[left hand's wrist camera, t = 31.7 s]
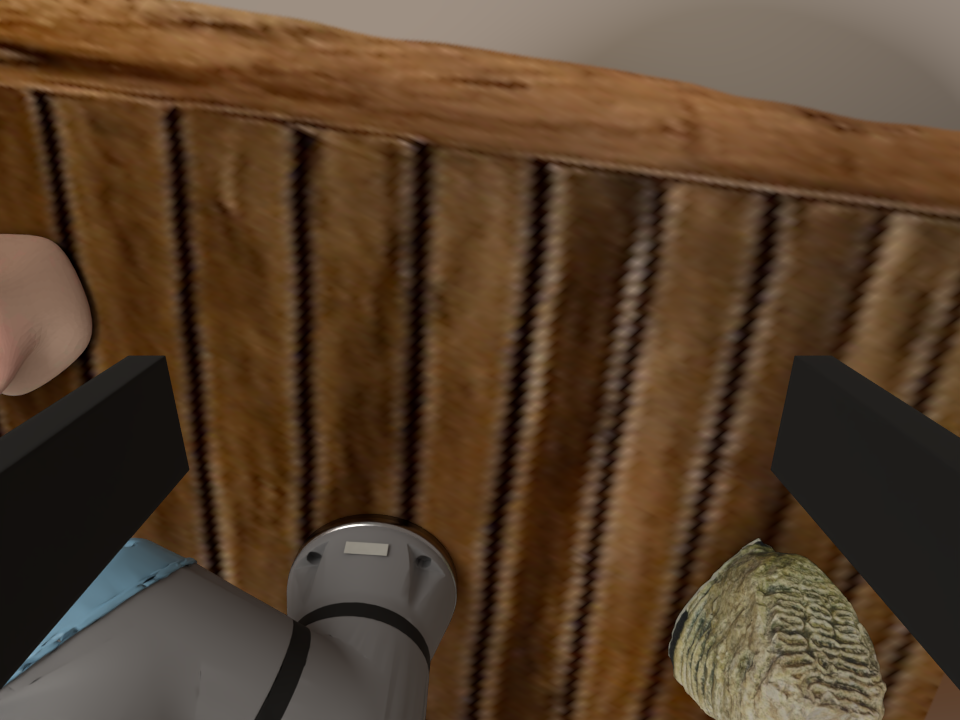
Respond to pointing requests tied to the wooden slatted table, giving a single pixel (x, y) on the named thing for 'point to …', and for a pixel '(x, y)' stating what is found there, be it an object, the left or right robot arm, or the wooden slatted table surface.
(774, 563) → the fossil
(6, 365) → the anatomical model
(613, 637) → the wooden slatted table surface
